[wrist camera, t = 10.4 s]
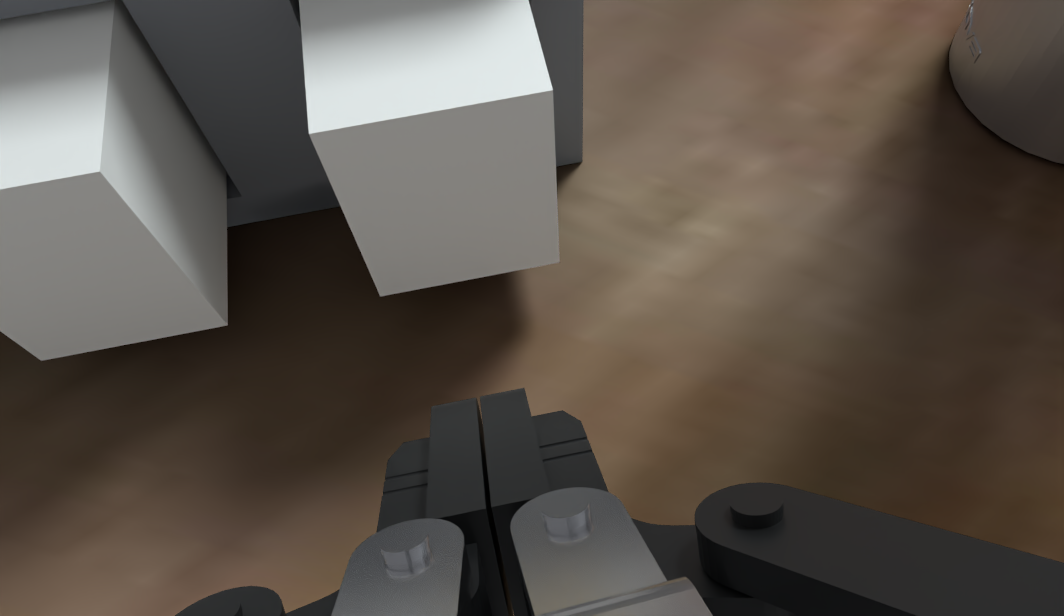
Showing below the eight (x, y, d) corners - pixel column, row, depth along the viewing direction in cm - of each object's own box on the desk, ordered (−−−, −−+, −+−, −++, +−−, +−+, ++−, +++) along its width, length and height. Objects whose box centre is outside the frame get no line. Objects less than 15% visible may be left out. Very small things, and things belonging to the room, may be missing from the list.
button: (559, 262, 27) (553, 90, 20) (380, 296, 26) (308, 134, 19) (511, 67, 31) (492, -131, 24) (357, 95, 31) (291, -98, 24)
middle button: (227, 325, 26) (99, 171, 19) (41, 360, 26) (-158, 218, 19) (226, 118, 31) (120, -69, 24) (65, 147, 30) (-89, -35, 23)
